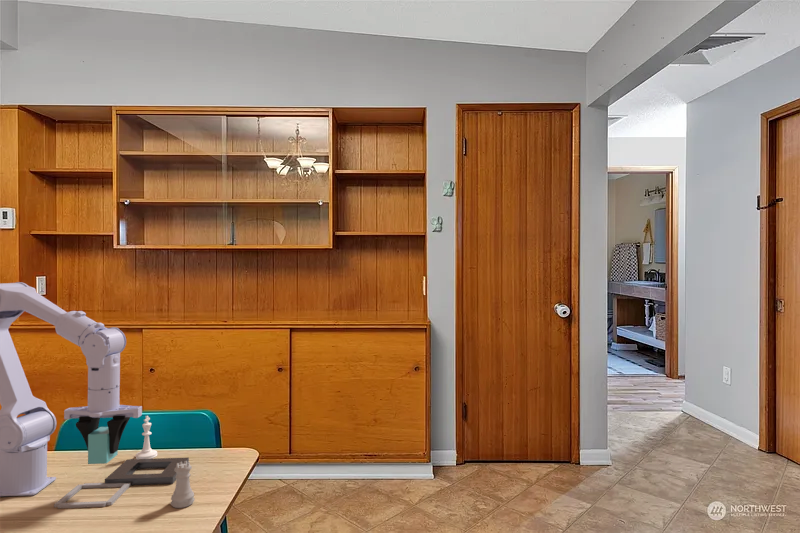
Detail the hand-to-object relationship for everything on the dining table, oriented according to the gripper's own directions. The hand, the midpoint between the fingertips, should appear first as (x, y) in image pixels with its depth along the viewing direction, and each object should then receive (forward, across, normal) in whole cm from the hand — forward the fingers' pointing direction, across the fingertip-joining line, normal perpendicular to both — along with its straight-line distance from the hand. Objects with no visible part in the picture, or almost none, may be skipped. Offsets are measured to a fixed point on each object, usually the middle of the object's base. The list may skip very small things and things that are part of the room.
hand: (103, 452), depth 103 cm
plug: (+2, 0, 0) cm, 2 cm away
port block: (+8, +6, +9) cm, 13 cm away
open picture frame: (+8, -1, -1) cm, 9 cm away
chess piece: (+9, +1, +20) cm, 22 cm away
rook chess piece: (+9, +18, -6) cm, 21 cm away
